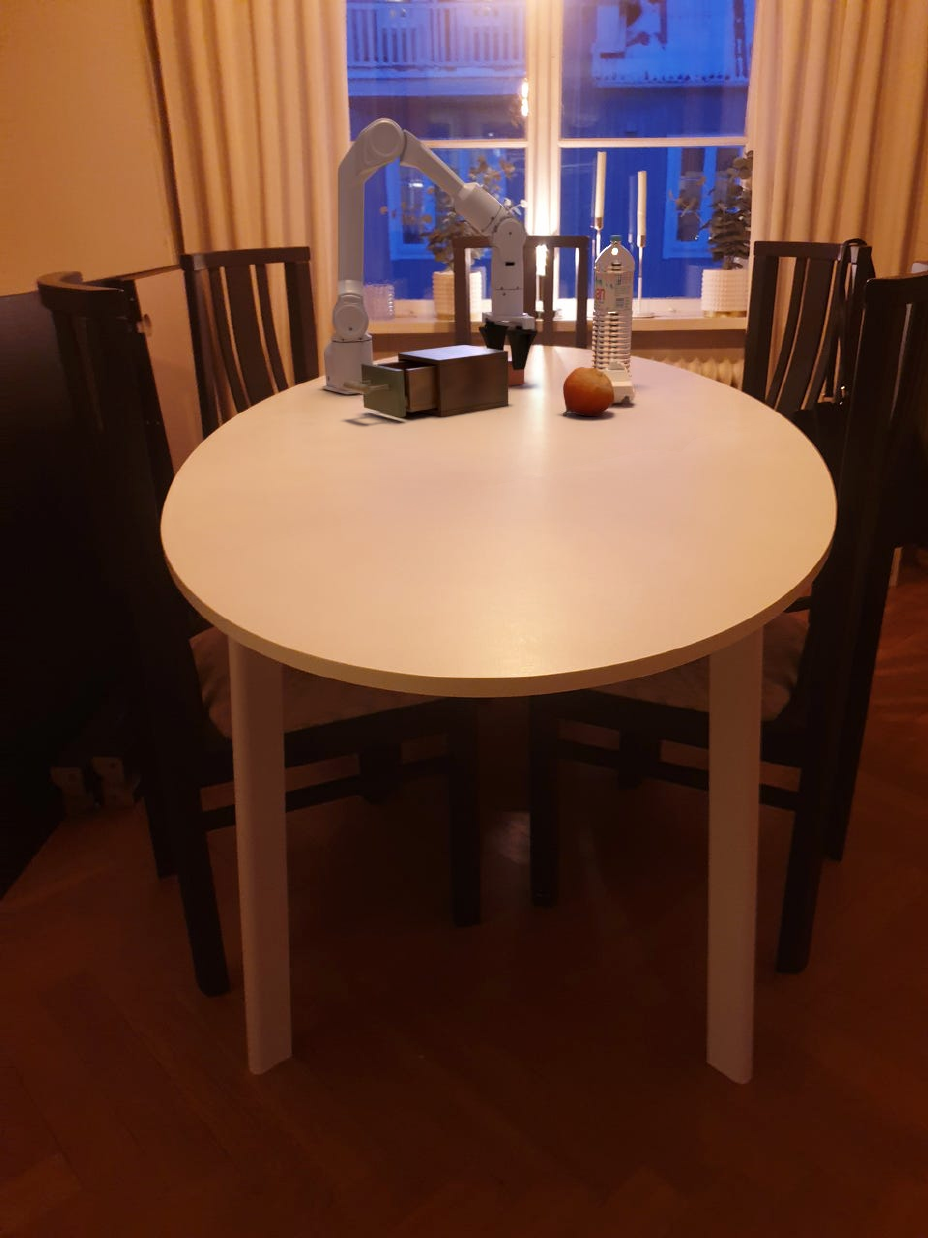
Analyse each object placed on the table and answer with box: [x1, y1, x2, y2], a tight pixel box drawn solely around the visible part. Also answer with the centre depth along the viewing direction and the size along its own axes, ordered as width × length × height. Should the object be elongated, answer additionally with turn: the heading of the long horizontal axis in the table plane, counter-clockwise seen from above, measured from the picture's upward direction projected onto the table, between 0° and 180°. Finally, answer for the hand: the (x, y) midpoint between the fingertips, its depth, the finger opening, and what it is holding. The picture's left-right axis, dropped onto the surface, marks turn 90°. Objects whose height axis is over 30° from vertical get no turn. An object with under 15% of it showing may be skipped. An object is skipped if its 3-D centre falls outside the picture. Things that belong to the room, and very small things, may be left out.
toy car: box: [604, 359, 636, 404], centre depth 148 cm, size 6×12×7 cm, turn 175°
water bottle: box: [590, 234, 636, 375], centre depth 156 cm, size 7×7×25 cm
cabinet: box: [397, 344, 509, 418], centre depth 146 cm, size 14×12×9 cm
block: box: [508, 356, 525, 387], centre depth 166 cm, size 4×4×4 cm
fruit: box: [562, 366, 614, 418], centre depth 138 cm, size 8×8×8 cm
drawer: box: [343, 360, 438, 418], centre depth 141 cm, size 17×10×7 cm, turn 127°
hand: (507, 366), depth 166 cm, fingers open, 7 cm apart
